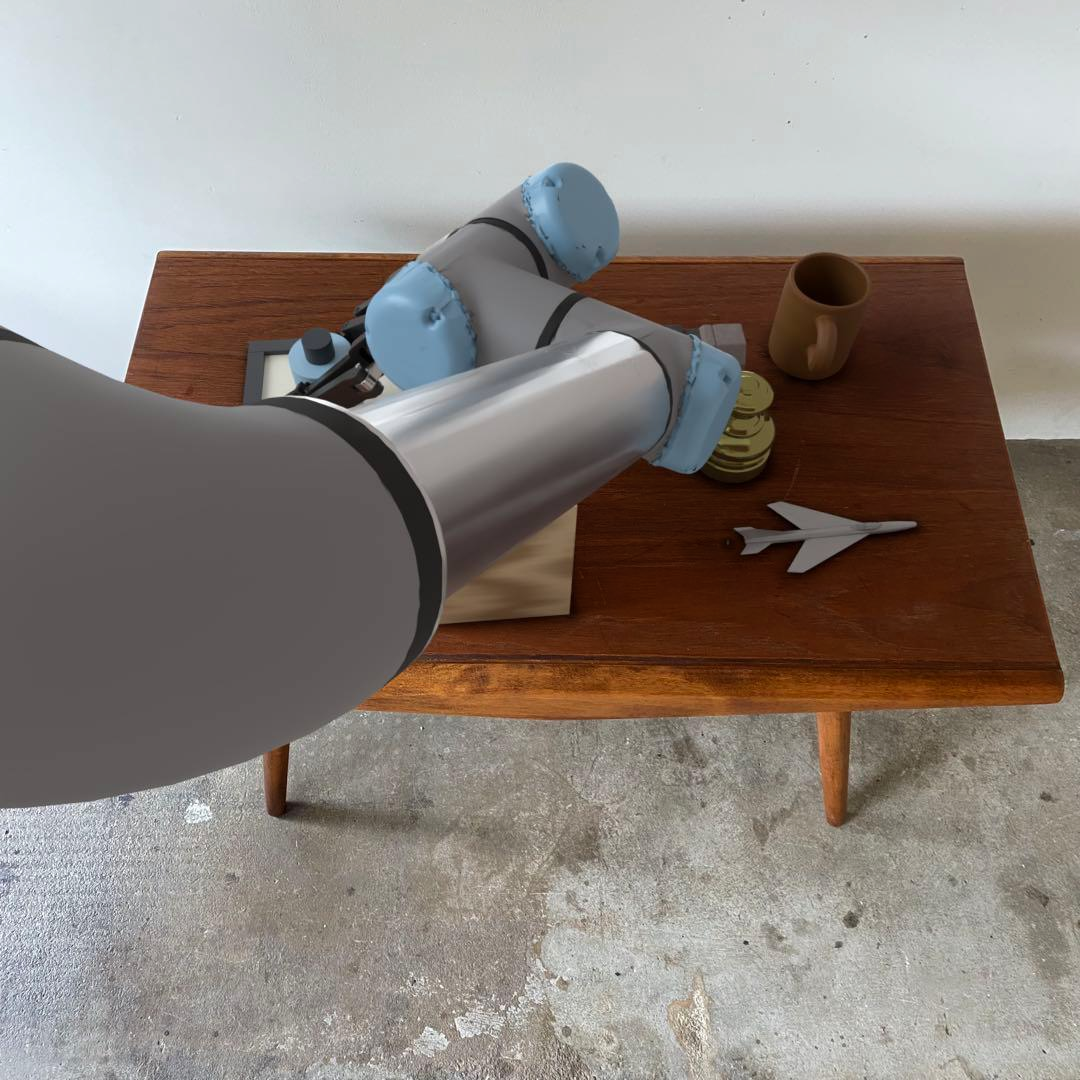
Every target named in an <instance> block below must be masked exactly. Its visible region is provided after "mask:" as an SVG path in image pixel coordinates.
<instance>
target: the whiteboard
mask: <svg viewBox="0 0 1080 1080" xmlns="http://www.w3.org/2000/svg"><path fill="white" fill-rule="evenodd" d="M301 338H302V337H301ZM301 338H300V337H299V338H284V339H267V340H265V339H264V340H249V343H248V348H247V358H246V359H247V360H246V369H245V370H246V371H245V378H244V389H243V401H242V405H244V404H248V403H251V402H255V401H259V400H263V399H267V398H271V397H279V396H285V395H286V394H288V393H290V392H291V391H293V390H294V389H295V388H296V385H295V382H294V378H293V375H292V372H291V368H290V365H289V361H288V356H289V352H290V350H291V348H292V346H293V345H294V344H295V343H296V342H297V341H298V340H300V339H301ZM379 381H381V384H382V385H383V386H384V390H383V392H382V394H381V395H379V396H378V397H376V398H372V399H367V400H365V401H364V404H365V403H368V402H371V401H374V400H377V399H381V398H384V397H387V396H390V395H393V394H396V393H400V392H403V390H401V389H400V388H398V387H397V386H396V385H394V384H393V383H392V382H391V381H390V380H389V379H388V378H387V377H386V376H385V375H383V376H382V377H380V378H379Z"/></svg>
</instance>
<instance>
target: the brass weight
mask: <svg viewBox="0 0 1080 1080" xmlns="http://www.w3.org/2000/svg"><path fill="white" fill-rule="evenodd" d="M774 398H775V391H774V389H773V385H772V384H771V383H770V382H769V381H768V379H766V378H765V377H764V376H763V375H760V374H759V373H757V372H753V371H749V370H744V371H742V381H741V386H740V390H739V394H738V397H737V400H736V403H735V405H734V408H733V411H732V413H731V416H730V418H729V420H728V423H727V425H726V427H725V429H724V431H723V433H722V435H721V437H720V439H719V441H718V443H717V445H716V447H715V449H714V450H713V452H712V454H711V455H710V457H709V459H708V460H707V461H706V463H705V464H704V465H703V466H702V467H701V468H700V469H699V470H698V471H700V472H701V473H703V474H704V475H705V476H707V477H709V478H710V479H713V480H715V481H718V482H721V483H727V484H739V483H745V482H748V481H750V480H752V479H754V478H756V477H757V476H758V475H760V474H761V473H762V471H763V470H764V468H765V466H766V464H767V461H768V458H769V457H770V454H771V452H772V447H773V444H774V442H775V440H776V436H777V425H776V422H775V420H774V416H772V414H771V413H770V411H769V409H770V408H771V406H772V404H773V402H774Z"/></svg>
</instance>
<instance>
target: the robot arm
mask: <svg viewBox="0 0 1080 1080" xmlns="http://www.w3.org/2000/svg"><path fill="white" fill-rule="evenodd" d="M613 201H614V200H612V197H610V196H609V194H608V192H607V191H606V187H605V186H604V185H603V183H602V182H601V181H600V180H599V178H597V176H595V175H594V174H593V173H592V172H591V171H590V170H588V169H587V168H585V167H584V166H582V165H580V164H577V163H574V162H570V161H559V162H555V163H553V164H550V165H549V166H548V167H546V168H544V169H542V170H541V171H538V172H537V173H536V174H534V175H528V177H527V178H525V179H524V180H523V181H522V182H521V183H520V184H519V185H518V186H516V187H514V188H513V189H512V190H510V191H509V192H508V193H506V194H504V195H503V196H501V198H499V199H497V200H496V201H495V202H493V203H491V204H490V205H489V206H488V207H486V208H485V209H483V210H482V211H481V212H480V213H478V214H477V215H475V216H474V217H473V218H472V219H470V220H469V221H468V222H466V223H465V224H463V225H462V226H461V225H460V226H459V227H457V228H454V229H453V230H451V231H450V232H448V233H447V234H446V235H444V236H442V237H441V238H440V239H438V240H437V241H435V242H434V243H432V244H431V245H430V246H428V247H427V248H425V249H424V250H423V251H422V252H421V253H419V255H418V256H416V257H414V258H412V259H411V260H409V262H407V263H405V264H404V265H402V266H401V267H400V268H398V269H397V270H395V271H394V272H392V274H390V275H389V277H387V278H386V281H385V282H384V284H383V286H382V287H381V289H379V290H378V291H377V292H376V293H375V294H374V295H373V296H372V297H369V299H367V300H366V301H364V302H362V303H360V305H358V306H356V307H355V308H354V309H353V312H352V315H353V316H354V317H355V318H353V319H350V320H347V321H345V322H344V323H343V324H342V326H341V328H340V332H339V331H336V332H335V334H338V335H340V336H342V337H344V338H345V339H346V340H347V341H348V342H349V343H350V345H351V347H350V350H349V353H348V354H347V355H346V356H345V357H344V358H342V359H341V360H340V361H339V362H337V363H336V364H335V365H334V366H333V367H331V368H330V369H329V370H328V371H327V372H325V373H324V374H323V375H322V376H320V377H319V378H318V379H317V380H316V381H314V382H313V383H312V384H310V383H308V382H306V383H303V382H302V381H301V382H300V383H299V384H298V385H297V386H296V388H295V389H294V390H293V391H291V392H290V393H288V394H286V395H285V396H279V397H271V398H267V399H263V400H259V401H255V402H251V403H248V404H244V405H243V404H240V405H236V406H224V405H223V406H221V405H210V404H205V403H201V402H196V401H191V400H185V399H179V398H174V397H170V396H167V395H164V394H161V393H157V392H154V391H151V390H148V389H146V388H143V387H139V386H136V385H133V384H130V383H128V382H123V381H120V380H117V379H115V378H113V377H110V376H108V375H106V374H103V373H101V372H99V371H97V370H95V369H93V368H90V367H88V366H85V365H83V364H82V363H79V362H77V361H74V360H73V359H70V358H68V357H66V356H64V355H62V354H59V353H57V352H55V351H53V350H50V349H48V348H47V347H45V346H42V345H41V344H38V343H37V342H35V341H33V340H31V339H30V338H27V337H25V336H23V335H22V334H20V333H17V332H15V331H13V330H11V329H9V328H7V327H5V326H3V325H1V324H0V810H4V809H6V810H7V809H30V808H40V807H49V806H50V807H51V806H60V805H61V806H62V805H69V804H80V803H81V804H82V803H89V802H90V803H91V802H95V801H100V800H105V799H110V798H115V797H119V796H125V795H130V794H135V793H139V792H143V791H149V790H154V789H159V788H164V787H168V786H174V785H177V784H180V783H183V782H186V781H189V780H192V779H197V778H199V777H202V776H206V775H210V774H212V773H215V772H219V771H222V770H225V769H228V768H231V767H234V766H238V765H240V764H244V763H247V762H249V761H252V760H254V759H256V758H258V757H261V756H263V755H265V754H268V753H270V752H272V751H275V750H277V749H279V748H282V747H284V746H286V745H288V744H291V743H293V742H295V741H298V740H300V739H302V738H305V737H307V736H309V735H311V734H313V733H315V732H316V731H318V730H319V729H322V728H323V727H325V726H327V725H328V724H330V723H332V722H333V721H335V720H337V719H339V718H340V717H343V716H344V715H345V714H347V713H349V712H351V711H353V710H354V709H356V708H358V707H360V706H361V705H362V704H363V703H365V702H366V701H367V700H369V699H370V698H371V697H373V696H374V695H375V694H377V693H378V692H379V691H381V690H382V689H383V688H384V687H386V686H387V685H388V684H389V683H391V682H392V681H393V680H394V679H396V677H398V676H399V675H400V674H402V673H403V672H404V671H405V670H406V669H407V668H408V667H409V666H411V665H412V664H413V663H414V662H415V661H416V660H417V659H418V658H419V657H420V656H421V655H423V654H422V653H423V652H424V651H425V650H426V648H427V647H428V646H429V644H430V643H431V641H432V640H433V637H434V635H435V634H436V632H437V630H438V628H439V625H440V624H439V622H440V619H441V616H442V613H443V610H444V605H445V600H446V599H447V598H449V597H450V596H451V595H453V594H454V593H456V592H457V591H458V590H460V589H461V588H462V587H464V586H465V585H467V584H468V583H469V582H471V581H472V580H473V579H475V578H476V577H478V576H479V575H480V574H482V573H483V572H484V571H486V570H487V569H489V568H490V567H491V566H493V565H494V564H495V563H497V562H498V561H500V560H501V559H502V558H504V557H505V556H506V555H508V554H509V553H511V552H512V551H513V550H515V549H516V548H517V547H519V546H520V545H522V544H523V543H524V542H526V541H527V540H528V539H530V538H531V537H533V536H534V535H535V534H537V533H538V532H539V531H541V530H542V529H544V528H545V527H546V526H548V525H549V524H550V523H552V522H553V521H555V520H556V519H557V518H559V517H560V516H561V515H563V514H564V513H566V512H567V511H568V510H570V509H571V508H572V507H574V506H575V505H577V506H578V504H579V503H581V502H582V501H583V500H585V499H586V498H588V497H589V496H591V495H592V494H593V493H595V492H596V491H598V490H599V489H600V488H602V487H603V486H604V485H605V484H607V483H608V482H610V481H611V480H612V479H614V478H615V477H617V476H618V475H619V474H620V473H622V472H624V471H625V470H626V469H628V468H629V467H630V466H632V465H633V464H635V463H636V462H638V460H640V459H644V460H646V461H647V462H648V464H649V465H652V466H654V467H662V468H665V469H667V470H671V471H674V472H676V473H679V474H685V475H691V474H695V473H696V472H698V471H700V470H699V469H700V468H701V467H702V466H703V465H704V464H705V463H706V461H707V460H708V459H709V457H710V455H711V454H712V452H713V450H714V449H715V447H716V445H717V443H718V441H719V439H720V437H721V435H722V433H723V431H724V429H725V427H726V425H727V423H728V420H729V418H730V416H731V413H732V411H733V408H734V405H735V403H736V400H737V397H738V394H739V390H740V386H741V381H742V370H741V367H740V364H739V362H738V361H737V359H735V358H734V357H733V356H732V355H730V354H728V353H725V352H723V351H721V350H719V349H717V348H715V347H713V346H711V345H709V344H707V343H705V342H703V341H701V340H700V339H699V338H698V337H697V336H695V335H692V334H690V335H685V334H682V333H680V332H677V331H675V330H672V329H670V328H667V327H664V326H665V325H662V324H659V323H657V322H654V321H651V320H649V319H647V318H645V317H644V318H643V317H641V316H638V315H636V314H634V313H631V312H629V311H626V310H624V309H621V308H618V307H615V306H613V305H610V304H608V303H605V302H603V301H601V300H598V299H595V298H594V297H593V298H592V297H591V296H589V295H586V294H584V293H581V292H578V291H575V290H573V289H571V288H573V286H575V285H577V284H579V283H585V282H587V281H589V280H590V279H591V278H592V276H593V275H594V274H596V273H597V272H599V271H601V270H602V269H603V268H605V267H607V266H608V265H609V264H611V263H612V262H613V260H614V259H615V257H616V256H617V254H618V251H619V248H620V245H621V224H620V218H619V214H618V211H617V208H616V206H615V203H614V202H613ZM383 375H385V376H386V377H387V378H388V379H389V380H390V381H391V382H392V383H393V384H394V385H396V386H397V387H398V388H400V389H401V390H403V392H400V393H396V394H393V395H390V396H387V397H384V398H381V399H377V400H374V401H371V402H368V403H365V404H362V405H358V404H360V403H361V402H363V401H365V400H367V399H372V398H376V397H378V396H379V395H381V394H382V392H383V390H384V386H383V385H382V384H381V381H379V378H380V377H382V376H383ZM356 405H358V406H356Z"/></svg>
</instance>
